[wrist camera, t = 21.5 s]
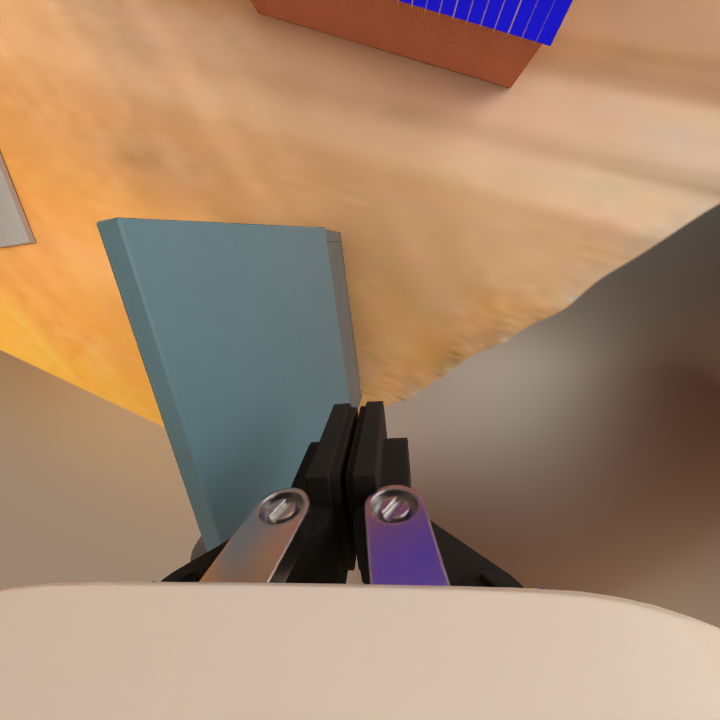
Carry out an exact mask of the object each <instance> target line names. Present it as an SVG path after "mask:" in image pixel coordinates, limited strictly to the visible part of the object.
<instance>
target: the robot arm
mask: <svg viewBox="0 0 720 720" xmlns="http://www.w3.org/2000/svg"><path fill="white" fill-rule="evenodd" d="M356 554H357V560H358V566H359V570H360V571H361V576H362V582H363V583H364V584H346V579H347V572H348V570H354V568H355V562H356ZM0 720H720V628H717V627H715V626H712V625H710V624H707V623H705V622H703V621H700V620H698V619H695V618H691V617H689V616H686V615H683V614H680V613H676V612H673V611H670V610H667V609H664V608H661V607H658V606H655V605H652V604H647V603H642V602H638V601H633V600H629V599H624V598H620V597H615V596H609V595H602V594H595V593H588V592H581V591H564V590H554V589H550V588H545V587H539V589H530V588H523V586H522V585H521V584H520V583H519V582H518V581H516V579H514V578H513V577H512V576H511V575H510V574H508V573H507V572H505V571H504V570H502V569H501V568H499V567H497V566H496V565H495V564H493V563H492V562H490V561H489V560H488V559H486V558H484V557H483V556H482V555H480V554H479V553H477V552H476V551H474V550H473V549H471V548H470V547H468V546H467V545H466V544H464V543H462V542H461V541H459V540H458V539H457V538H455V537H454V536H452V535H451V534H449V533H448V532H446V531H445V530H444V529H442V528H441V527H439V526H438V525H436V524H435V523H433V522H432V521H430V520H429V516H428V513H427V510H426V507H425V504H424V501H423V499H422V497H421V495H420V494H419V493H418V492H417V491H415V490H414V489H412V488H411V478H410V463H409V452H408V440H407V438H390V439H387V432H386V423H385V414H384V404H383V401H377V402H367V403H366V406H363V407H361V408H360V413H359V417H358V410H357V407H352V406H351V404H350V403H344V404H334V406H333V408H332V411H331V413H330V416H329V418H328V421H327V423H326V426H325V428H324V431H323V434H322V436H321V439H320V441H319V442H311V443H310V444H309V446H308V449H307V451H306V453H305V455H304V458H303V460H302V462H301V465H300V467H299V469H298V471H297V474H296V476H295V478H294V480H293V483H292V485H291V487H290V488H283V489H279V490H276V491H273V492H271V493H269V494H267V495H266V496H264V497H263V498H262V499H261V500H260V501H259V502H258V503H257V504H256V505H255V506H254V508H253V509H252V511H251V512H250V513H249V515H248V516H247V517H246V519H245V520H244V521H243V523H242V524H241V525H240V527H239V528H238V529H237V531H236V532H235V534H234V535H233V536H232V538H231V539H229V540H227V541H226V542H224V543H222V544H220V545H219V546H217V547H215V548H214V549H212V550H210V551H209V552H207V553H205V554H203V555H202V556H200V557H198V558H197V559H195V560H193V561H191V562H190V563H188V564H186V565H185V566H183V567H181V568H180V569H178V570H176V571H174V572H173V573H171V574H170V575H169V576H167V577H166V578H164V579H163V580H162V581H161V582H155V581H153V582H74V583H73V582H72V583H45V584H37V585H28V586H20V587H15V588H10V589H6V590H1V591H0Z"/></svg>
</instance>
